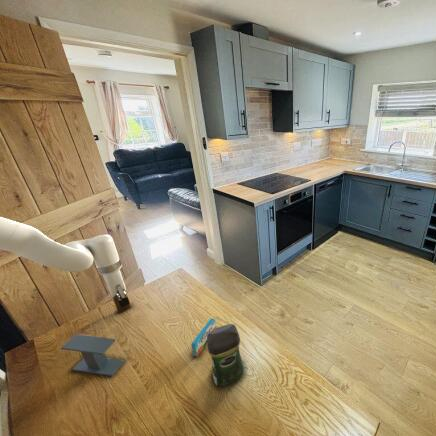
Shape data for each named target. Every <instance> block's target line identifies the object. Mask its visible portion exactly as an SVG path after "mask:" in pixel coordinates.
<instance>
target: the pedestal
mask: <svg viewBox="0 0 436 436" xmlns="http://www.w3.org/2000/svg"><path fill="white" fill-rule="evenodd" d="M116 341H117V339H116V338H110V337H109V338H107V337H101V336H95V335H94V336H93V335H87V334H79V333H76V334H74V335H73V336H72V337H71V338H70V339H69V340H68V341H67V342H66V343H64V344H63V345H62V346H61V347H60V350H66V351H74V352H80V354H81V356H82V359H81V360H80V361H79V362H78V363H77V364H76V365H75V366H74V367H73V368H72V371H75V372H81V373H87V374H94V375H95V374H96V375H101V376H110V377H113V376H114V375H115V374H116V373H117V371H118V370H119V369H120V367H121V366H123V364H124V362H125V360H123V359H118V358H109V357H107V356H106V352H107V351H108V350H109V349H110V348H111V347H112V346H113V344H115V342H116Z"/></svg>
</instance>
